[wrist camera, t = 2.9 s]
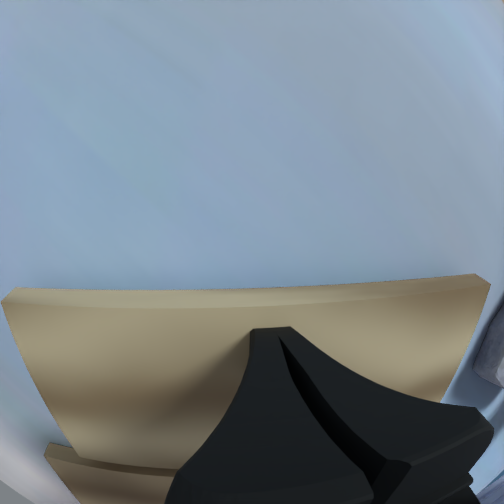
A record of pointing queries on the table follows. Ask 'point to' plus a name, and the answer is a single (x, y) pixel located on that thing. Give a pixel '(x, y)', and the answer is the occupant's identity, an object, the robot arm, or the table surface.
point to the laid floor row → (108, 479)
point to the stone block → (492, 352)
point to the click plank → (221, 352)
